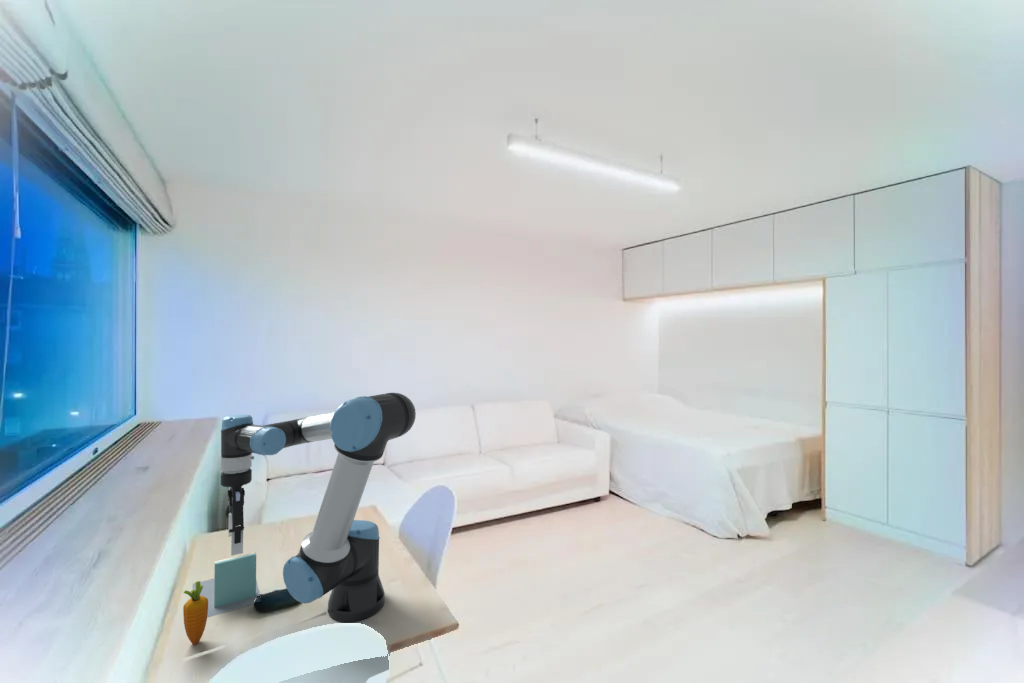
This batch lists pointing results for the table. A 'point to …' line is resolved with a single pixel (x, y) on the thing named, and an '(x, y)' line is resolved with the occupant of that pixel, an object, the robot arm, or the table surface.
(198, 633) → the carrot
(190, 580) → the table surface
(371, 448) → the robot arm
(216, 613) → the mat
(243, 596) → the board
